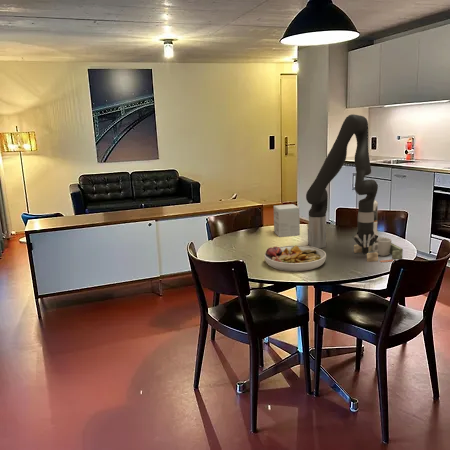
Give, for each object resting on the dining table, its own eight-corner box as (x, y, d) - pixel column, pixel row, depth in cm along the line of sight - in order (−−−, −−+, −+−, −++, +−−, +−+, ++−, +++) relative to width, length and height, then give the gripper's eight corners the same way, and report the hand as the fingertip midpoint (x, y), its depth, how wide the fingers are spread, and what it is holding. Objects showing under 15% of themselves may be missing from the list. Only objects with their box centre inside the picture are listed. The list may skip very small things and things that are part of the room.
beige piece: (368, 261, 212) (368, 252, 211) (353, 252, 228) (353, 242, 227) (402, 258, 214) (402, 248, 212) (385, 249, 230) (385, 240, 229)
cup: (378, 259, 215) (379, 243, 213) (366, 255, 222) (367, 240, 220) (394, 255, 220) (395, 239, 218) (382, 251, 227) (382, 236, 225)
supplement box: (294, 230, 280) (293, 203, 276) (300, 235, 267) (299, 207, 263) (273, 232, 278) (272, 205, 274) (279, 237, 266) (278, 209, 262)
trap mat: (381, 262, 210) (381, 262, 210) (379, 261, 212) (379, 260, 212) (395, 261, 210) (395, 260, 210) (392, 259, 213) (392, 259, 213)
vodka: (366, 235, 258) (367, 185, 252) (380, 237, 252) (382, 186, 245) (358, 239, 252) (358, 187, 245) (373, 241, 246) (374, 188, 239)
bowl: (326, 255, 227) (326, 240, 225) (325, 274, 199) (325, 258, 197) (269, 254, 234) (268, 239, 233) (260, 272, 206) (259, 256, 204)
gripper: (355, 223, 212) (355, 257, 215) (382, 220, 213) (381, 255, 217) (349, 219, 219) (349, 253, 223) (375, 217, 220) (374, 250, 224)
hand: (365, 253), depth 220 cm, fingers closed
